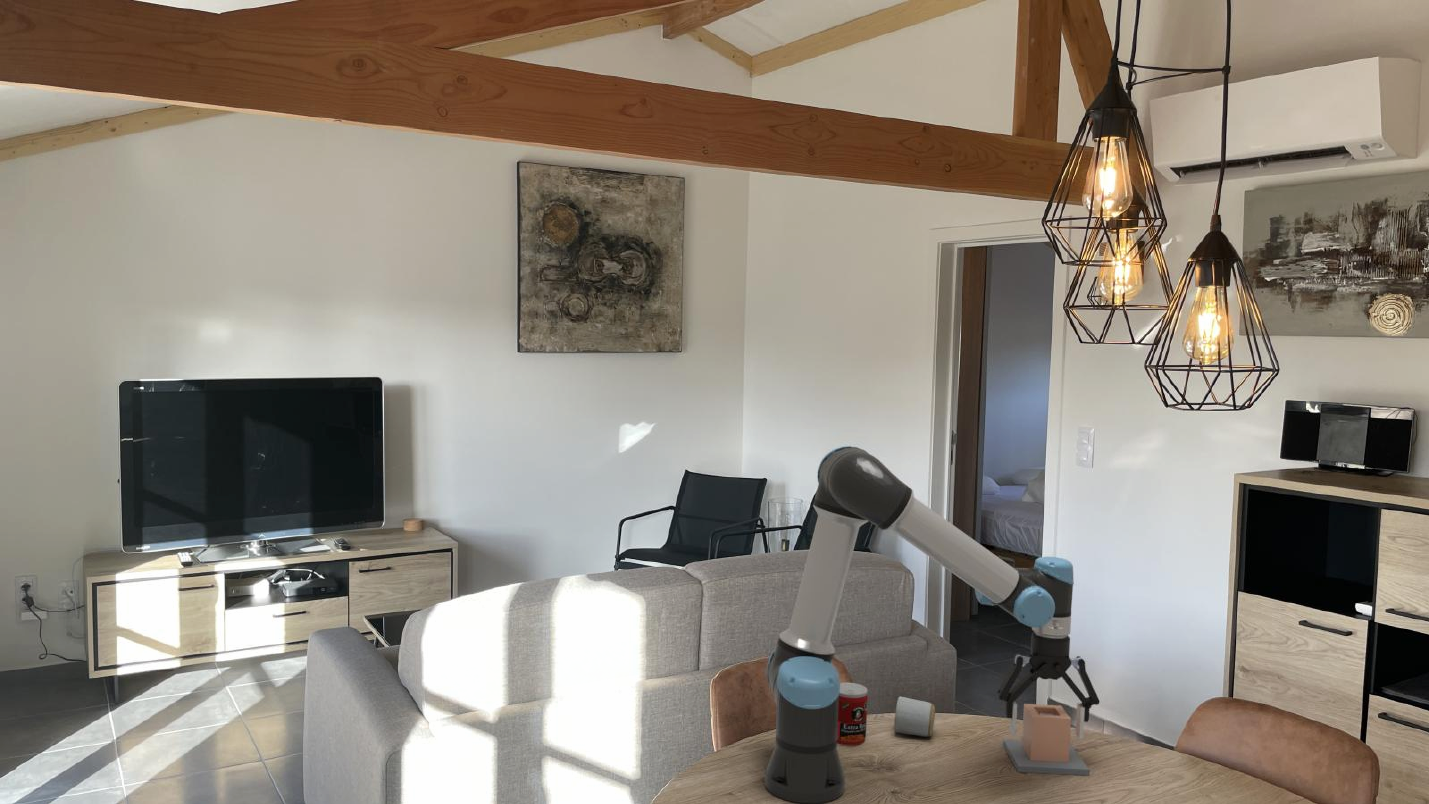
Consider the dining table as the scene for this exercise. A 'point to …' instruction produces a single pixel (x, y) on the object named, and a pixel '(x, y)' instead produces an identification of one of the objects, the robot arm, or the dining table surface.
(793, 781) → the robot arm
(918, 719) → the ceramic mug
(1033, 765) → the shaft plate
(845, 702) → the canned food
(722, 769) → the dining table surface
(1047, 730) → the square open box
